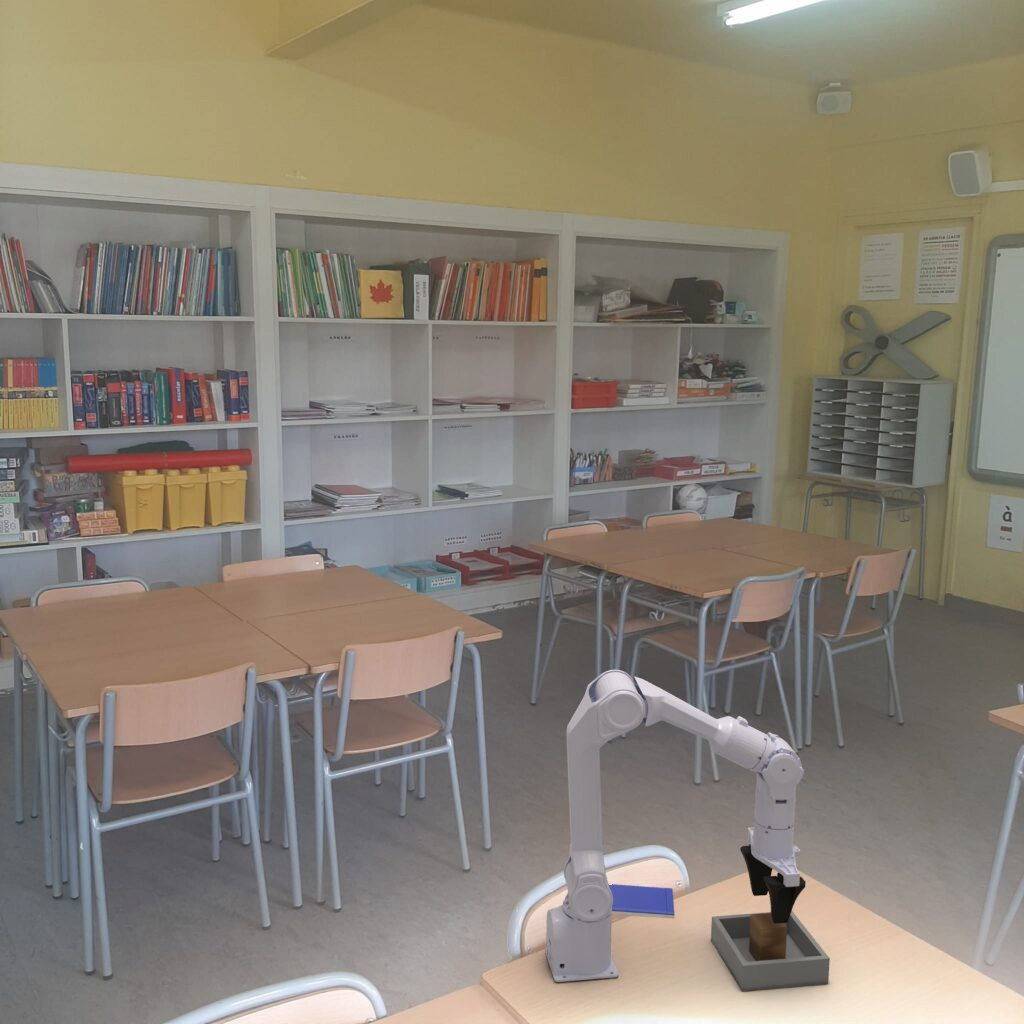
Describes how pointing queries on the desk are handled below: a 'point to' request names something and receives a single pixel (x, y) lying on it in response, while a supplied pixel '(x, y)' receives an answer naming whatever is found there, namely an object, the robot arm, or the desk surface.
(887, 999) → the desk surface
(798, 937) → the grey bin
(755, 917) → the walnut block
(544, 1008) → the desk surface
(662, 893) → the hard drive
